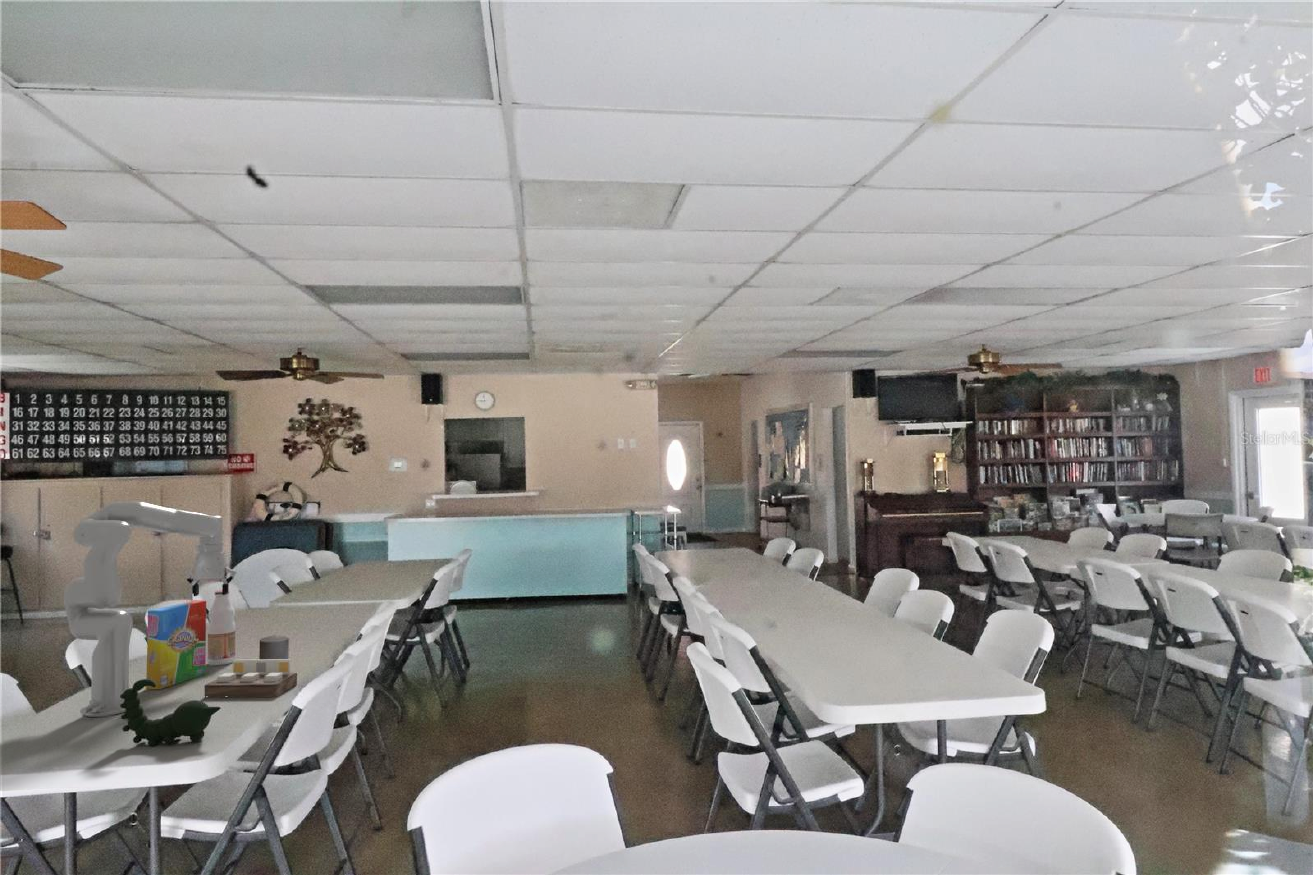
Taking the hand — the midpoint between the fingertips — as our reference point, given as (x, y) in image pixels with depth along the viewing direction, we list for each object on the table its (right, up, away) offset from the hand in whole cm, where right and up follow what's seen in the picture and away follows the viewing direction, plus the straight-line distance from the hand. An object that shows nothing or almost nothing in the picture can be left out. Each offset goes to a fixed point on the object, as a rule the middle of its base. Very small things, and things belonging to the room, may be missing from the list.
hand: (210, 595), depth 278 cm
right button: (+36, -24, -24) cm, 49 cm away
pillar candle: (+26, -29, -5) cm, 39 cm away
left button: (+20, -25, -24) cm, 39 cm away
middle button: (+28, -25, -24) cm, 44 cm away
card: (+28, -24, -17) cm, 40 cm away
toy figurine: (+31, -27, -70) cm, 81 cm away
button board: (+28, -28, -23) cm, 45 cm away
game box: (-6, -29, -10) cm, 31 cm away
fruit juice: (-5, -30, +15) cm, 34 cm away
